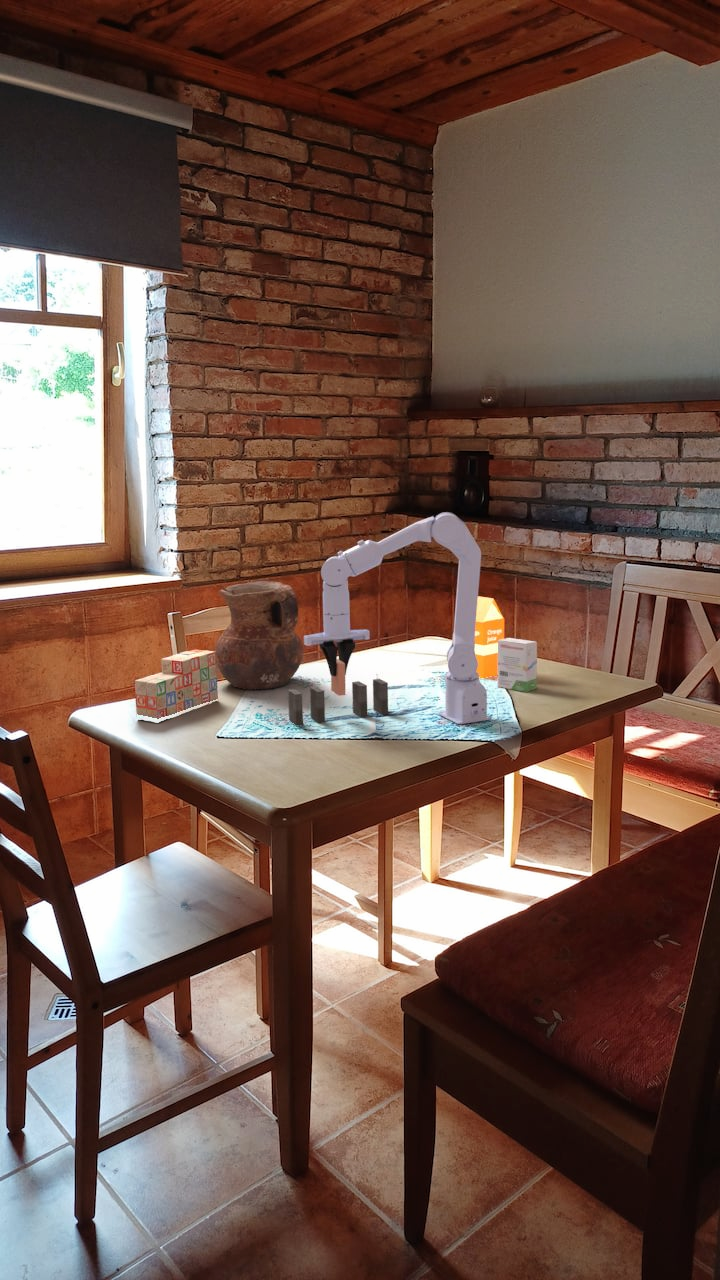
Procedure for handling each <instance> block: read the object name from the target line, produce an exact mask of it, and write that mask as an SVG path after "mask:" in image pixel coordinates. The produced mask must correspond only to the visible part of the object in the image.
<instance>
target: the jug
mask: <svg viewBox="0 0 720 1280" xmlns="http://www.w3.org/2000/svg"><path fill="white" fill-rule="evenodd" d="M219 594H220V595H221V596H222V598H223V599H224V601H225V602H226V605H227V606H228V608H229V611H230V612H229V613H230V624H229V625H228V626H227V628H226V629H225V630H224V631H223V632H222V633H221V635H220V636H219V639H218V640H217V642H216V644H215V648H214V651H215V652H216V664H217V670H218V671H219V672H220V674H221V675H222V677H223V678H224V679H225V680H226V682H228V683H229V684H230V685H231V686H232V685H233V687H234V686H235V687H234V688H236V687H238V688H237V689H240V688H242V689H241V690H270V689H276V688H280V687H281V686H284V685H285V684H287V683H288V681H290V680H291V679H292V678H293V676H295V674H296V672H297V671H298V670H299V668H300V666H301V663H302V660H303V656H304V643H303V642H302V640H301V638H300V636H299V635H298V634H297V633H296V632H295V628H296V626H297V625H298V621H299V602H298V600H297V599H298V598H297V596H296V594H295V591H294V590H293V587H292V586H291V585H289V584H284V583H281V582H279V581H275V580H256V581H250V582H247V583H238V584H237V583H236V584H234V585H229V586H226V587H222V589H220V591H219ZM275 687H276V688H275ZM269 688H270V689H269Z"/></svg>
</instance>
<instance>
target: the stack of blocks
mask: <svg viewBox="0 0 720 1280" xmlns="http://www.w3.org/2000/svg"><path fill="white" fill-rule="evenodd" d="M160 660H161V661H160V662H161V664H160V665H161V672H158V673H155V674H152V675H148V676H145V677H142V678H139V679H135V680H134V687H135V688H134V689H135V694H134V695H135V707H136V709H135V710H136V711H135V712H136V715H137V714H138V715H143V716H148V717H152V718H157V719H159V718H161V717H165V716H169V715H172V714H175V713H177V712H180V711H183V710H186V709H188V708H191V707H194V706H197V705H200V704H203V703H206V702H210V701H213V700H216V699H218V700H219V690H218V667H217V664H216V652H215V650H203V649H202V650H201V649H192V650H186V651H182V652H179V653H177V654H174V655H170V656H167V657H163V658H161V659H160Z"/></svg>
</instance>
